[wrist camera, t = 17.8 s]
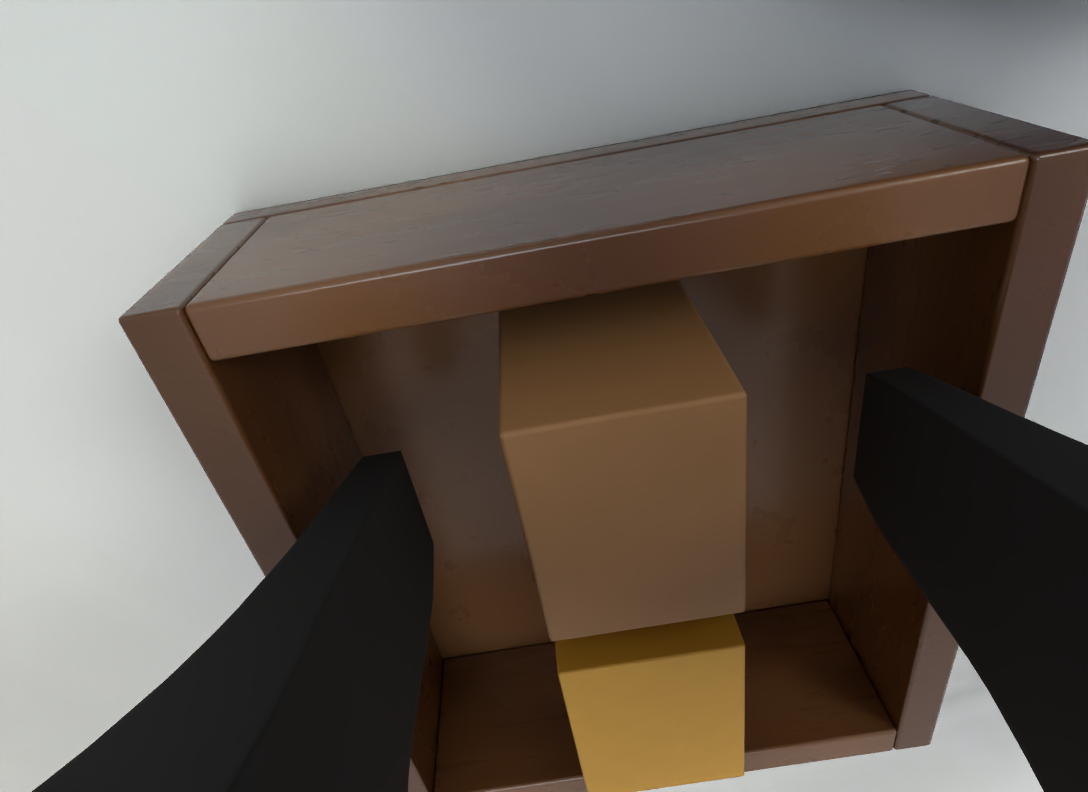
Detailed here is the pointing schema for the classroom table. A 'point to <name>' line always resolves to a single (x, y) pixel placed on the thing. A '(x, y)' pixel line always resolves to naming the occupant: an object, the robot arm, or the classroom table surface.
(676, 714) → the yellow block
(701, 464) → the kraft packet
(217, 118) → the classroom table surface
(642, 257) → the holder
